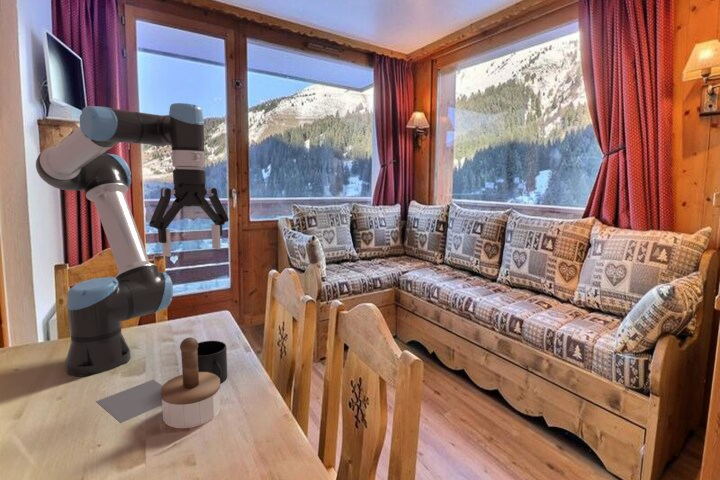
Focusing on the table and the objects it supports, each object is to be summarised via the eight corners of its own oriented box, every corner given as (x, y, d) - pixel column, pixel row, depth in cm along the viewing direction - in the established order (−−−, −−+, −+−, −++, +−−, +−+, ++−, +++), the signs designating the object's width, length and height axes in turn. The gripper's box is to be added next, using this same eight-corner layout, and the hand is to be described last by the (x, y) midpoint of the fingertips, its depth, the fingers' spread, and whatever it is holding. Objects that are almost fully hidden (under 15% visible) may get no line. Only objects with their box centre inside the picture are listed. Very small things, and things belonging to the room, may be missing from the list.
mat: (96, 403, 92) (95, 401, 92) (153, 381, 102) (153, 379, 102) (120, 425, 84) (120, 422, 84) (180, 399, 95) (179, 396, 94)
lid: (150, 391, 87) (146, 339, 85) (201, 370, 96) (198, 323, 94) (179, 411, 79) (176, 355, 78) (231, 387, 89) (229, 336, 87)
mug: (202, 399, 95) (200, 363, 93) (182, 380, 103) (180, 347, 102) (238, 385, 101) (237, 351, 100) (217, 368, 110) (216, 337, 108)
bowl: (153, 416, 88) (151, 391, 87) (201, 394, 97) (200, 371, 96) (181, 437, 81) (180, 410, 80) (230, 412, 90) (229, 387, 89)
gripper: (145, 167, 88) (151, 261, 91) (240, 170, 108) (242, 247, 111) (129, 167, 93) (135, 257, 96) (223, 169, 112) (226, 244, 116)
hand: (193, 252), depth 104 cm, fingers open, 13 cm apart
